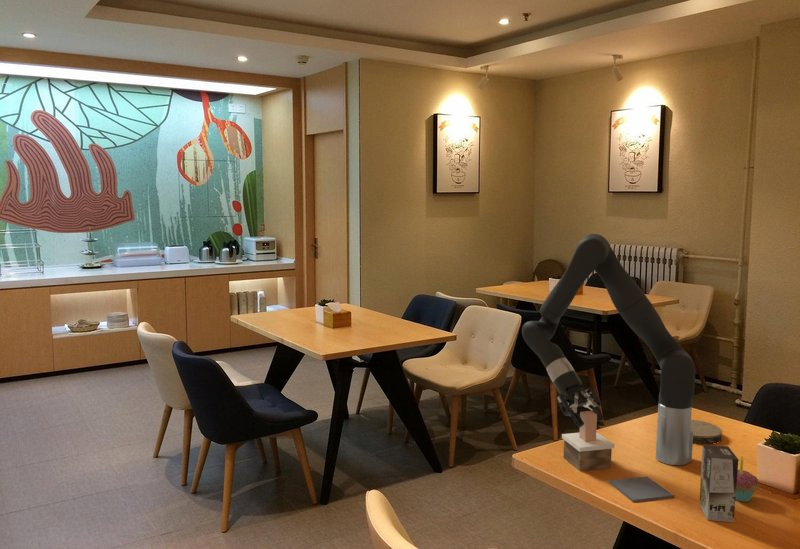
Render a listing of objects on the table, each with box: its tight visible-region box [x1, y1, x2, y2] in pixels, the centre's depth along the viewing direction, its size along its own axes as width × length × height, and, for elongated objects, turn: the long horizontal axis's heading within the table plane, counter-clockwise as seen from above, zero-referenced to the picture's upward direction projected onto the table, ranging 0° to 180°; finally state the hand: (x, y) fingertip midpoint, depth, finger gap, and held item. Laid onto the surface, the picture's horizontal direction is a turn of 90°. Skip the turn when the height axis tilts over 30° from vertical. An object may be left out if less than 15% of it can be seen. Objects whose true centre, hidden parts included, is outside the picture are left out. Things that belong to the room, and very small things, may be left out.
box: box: [563, 439, 613, 472], centre depth 200 cm, size 10×10×6 cm
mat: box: [608, 475, 675, 503], centre depth 183 cm, size 12×12×1 cm
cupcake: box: [735, 457, 760, 502], centre depth 177 cm, size 9×8×12 cm
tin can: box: [691, 419, 723, 445], centre depth 223 cm, size 16×16×3 cm
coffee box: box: [699, 444, 740, 523], centre depth 169 cm, size 9×6×16 cm
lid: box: [561, 410, 615, 452], centre depth 199 cm, size 11×11×10 cm
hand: (591, 423), depth 198 cm, fingers open, 8 cm apart
